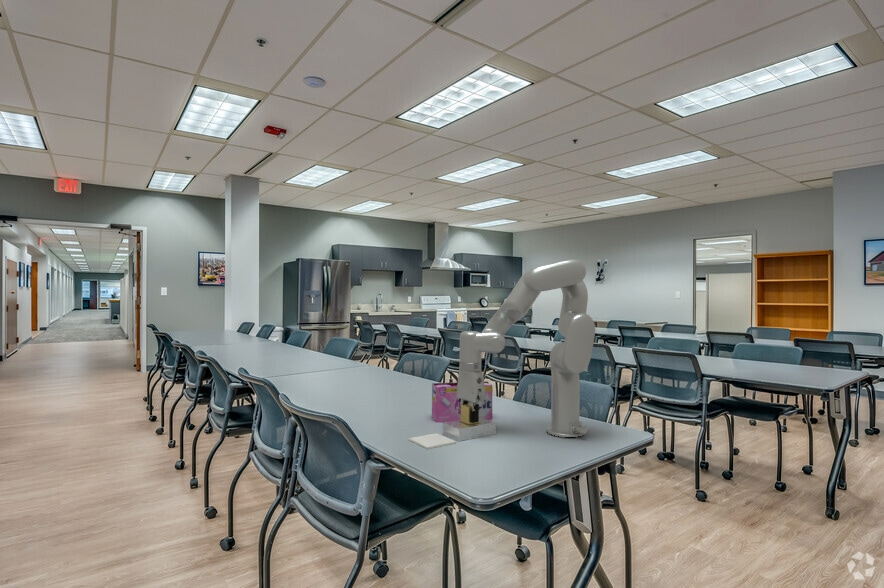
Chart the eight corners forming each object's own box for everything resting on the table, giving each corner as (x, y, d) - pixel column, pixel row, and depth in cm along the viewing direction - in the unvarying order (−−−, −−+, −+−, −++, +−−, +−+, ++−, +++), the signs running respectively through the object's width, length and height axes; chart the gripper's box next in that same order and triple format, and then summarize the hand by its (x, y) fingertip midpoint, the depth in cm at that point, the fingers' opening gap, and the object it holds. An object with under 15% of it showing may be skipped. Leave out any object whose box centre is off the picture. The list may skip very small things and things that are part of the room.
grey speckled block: (495, 433, 159) (496, 422, 159) (459, 441, 150) (459, 429, 150) (479, 427, 167) (479, 416, 167) (442, 434, 158) (443, 422, 158)
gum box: (488, 414, 187) (489, 381, 187) (496, 419, 179) (496, 384, 179) (431, 417, 181) (431, 382, 181) (435, 423, 173) (436, 386, 173)
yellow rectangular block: (478, 434, 158) (479, 405, 158) (468, 436, 155) (468, 407, 156) (470, 431, 162) (470, 403, 162) (460, 433, 159) (460, 404, 159)
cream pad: (455, 443, 148) (455, 441, 148) (427, 449, 142) (427, 447, 142) (436, 434, 157) (436, 433, 157) (408, 440, 151) (408, 438, 151)
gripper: (495, 369, 154) (494, 424, 154) (463, 363, 168) (463, 414, 168) (477, 371, 150) (477, 427, 150) (447, 365, 164) (446, 416, 163)
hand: (469, 420), depth 159 cm, fingers closed on yellow rectangular block, 4 cm apart
